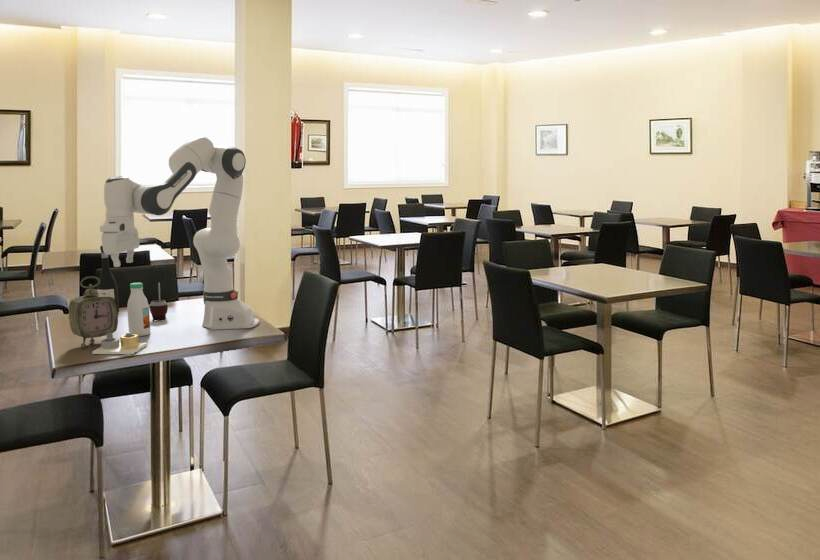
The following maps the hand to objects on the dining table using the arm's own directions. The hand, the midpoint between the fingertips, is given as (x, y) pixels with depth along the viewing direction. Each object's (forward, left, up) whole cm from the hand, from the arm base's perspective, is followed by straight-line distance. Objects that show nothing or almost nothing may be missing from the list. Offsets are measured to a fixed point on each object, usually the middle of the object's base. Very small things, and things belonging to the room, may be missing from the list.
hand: (123, 264), depth 241 cm
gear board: (+4, 0, -31) cm, 31 cm away
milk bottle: (+7, -23, -31) cm, 39 cm away
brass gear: (0, 0, -29) cm, 29 cm away
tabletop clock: (+17, -9, -31) cm, 36 cm away
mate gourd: (+10, -49, -31) cm, 59 cm away
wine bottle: (+36, -60, -31) cm, 76 cm away
